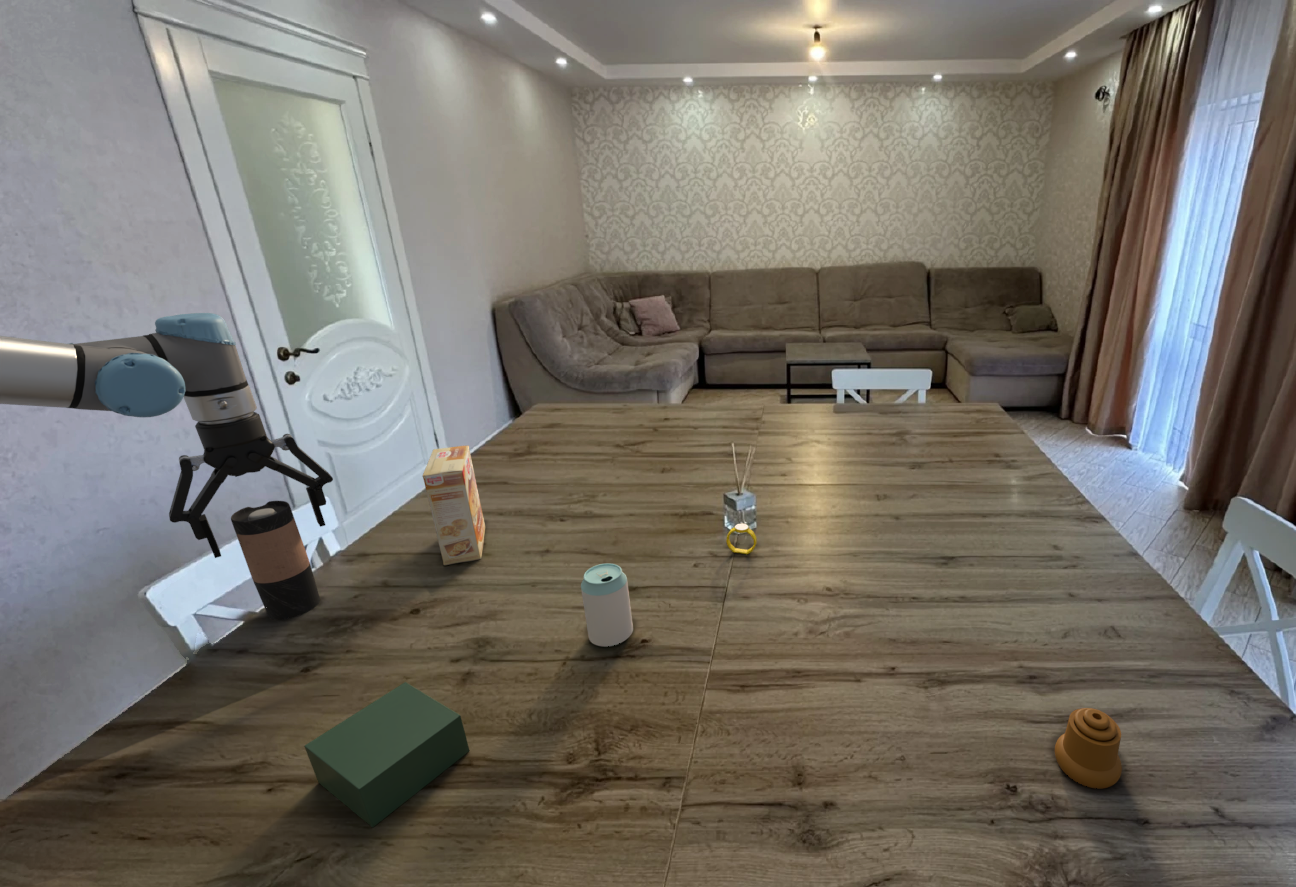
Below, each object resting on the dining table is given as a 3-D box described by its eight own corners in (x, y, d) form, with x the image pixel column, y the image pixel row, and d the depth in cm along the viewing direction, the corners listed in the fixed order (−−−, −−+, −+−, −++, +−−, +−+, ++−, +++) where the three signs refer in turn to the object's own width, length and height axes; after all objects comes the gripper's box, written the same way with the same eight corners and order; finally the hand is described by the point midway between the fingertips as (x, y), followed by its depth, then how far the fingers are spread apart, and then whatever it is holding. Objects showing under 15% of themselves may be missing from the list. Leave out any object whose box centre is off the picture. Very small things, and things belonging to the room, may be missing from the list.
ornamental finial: (1106, 805, 70) (1043, 766, 75) (1128, 766, 75) (1067, 732, 80) (1119, 753, 68) (1052, 716, 73) (1141, 716, 72) (1077, 684, 77)
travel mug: (301, 627, 102) (263, 521, 95) (256, 627, 102) (216, 521, 95) (334, 600, 109) (301, 500, 102) (292, 599, 109) (257, 500, 102)
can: (641, 625, 102) (634, 564, 97) (619, 653, 95) (610, 588, 91) (604, 618, 103) (595, 558, 99) (580, 645, 97) (569, 581, 93)
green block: (372, 828, 69) (358, 789, 66) (318, 782, 74) (303, 745, 72) (470, 751, 78) (460, 715, 76) (415, 716, 84) (405, 681, 82)
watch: (725, 555, 122) (724, 529, 120) (729, 547, 125) (727, 522, 123) (755, 557, 122) (754, 530, 119) (757, 549, 124) (756, 524, 122)
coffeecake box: (482, 559, 122) (462, 470, 115) (442, 566, 119) (420, 475, 112) (486, 525, 135) (469, 443, 128) (451, 531, 132) (431, 448, 125)
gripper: (108, 444, 82) (169, 578, 90) (329, 403, 99) (364, 519, 106) (109, 431, 87) (167, 559, 95) (320, 394, 103) (354, 505, 111)
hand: (271, 538), depth 101 cm, fingers open, 13 cm apart
